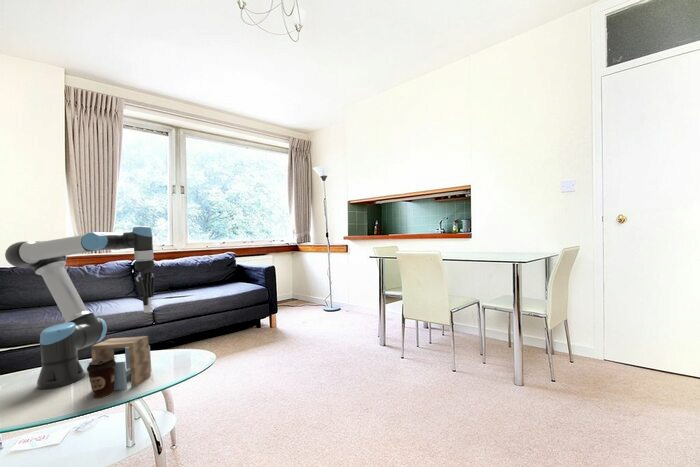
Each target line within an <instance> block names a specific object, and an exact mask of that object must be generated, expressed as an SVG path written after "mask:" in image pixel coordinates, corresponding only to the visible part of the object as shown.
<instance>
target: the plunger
mask: <svg viewBox="0 0 700 467" xmlns="http://www.w3.org/2000/svg"><path fill="white" fill-rule="evenodd" d="M124 356H125V361H118V362H117V361H115V362H116V365H115V368H114V372H115V377H114V378H115V379H114V391H120V390H121V391H123V390H127V388H128V382H127V377H129V376H131V369H130V354H129V347H126V348H124ZM149 357H150V372H153V371H152V359H151V345H149Z"/></svg>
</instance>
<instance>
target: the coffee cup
mask: <svg viewBox="0 0 700 467" xmlns="http://www.w3.org/2000/svg"><path fill="white" fill-rule="evenodd" d="M116 362H117V361H116V360H115V361H114V360H113V358H112V357H108V358H102V359H97V360H94V361H92V360H91V361H90V362H89V363H88V365H87V367H86V371H87V372H88V379H89V383H90V386H91V391H92V392H93V395H92V396H93V399H102V398H107V397H110V396H112V395H113V394H114V393H115V391H116V390H114V379H115V378H114V377H115V372H114V368H115V365H116Z"/></svg>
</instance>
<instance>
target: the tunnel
mask: <svg viewBox="0 0 700 467" xmlns="http://www.w3.org/2000/svg"><path fill="white" fill-rule="evenodd" d="M149 342H150V341H149V335H140V336H128V337H126V336H125V337H114V338H108V339H106V340H103V341H99V342H97V343H95V344H94V345H90V347H91V361H94V360H97V359H102V358H108V357H112V358H113V360H114V361H115V362H116V359H115V349H121V348H122V349H125V348H126V347H129V354H130V369H131V374H130V381H131V387H137V386H138V385H140V384H142V383H143V382H145V380H147V379H149V378H150V377H151V376H152V374H151V372H152V371H151V372H150V357H149Z"/></svg>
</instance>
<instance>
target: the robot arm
mask: <svg viewBox="0 0 700 467" xmlns="http://www.w3.org/2000/svg"><path fill="white" fill-rule="evenodd" d="M152 231H153V230H152V228H151V227H150V226H147V225H146V226H134V227H133V228H132V231H130V232H129V231H127V232H126V231H125V232H102V231H101V232H100V231H92V232H87V233H85V234H81V235H75V236H74V235H73V236H68V237H62V238H55V239H50V240H43V241H40V240H39V241H32V240H29V241H28V240H27V241H18V242H14V243H12V244H11V245H9V246H8V247H7V249H6V250H5V253H4V256H5V260H6V262H8V264H10V265H11V266H14V267H16V268H22V269H24V268H25V269H26V268H32V269H33V272H34V273H35V274H36V275H39V276H41V277H42V278H43V281H44V283H45V285H46V287H47V288H48V290H49V292H50V294H51V296H52V298H53V299H54V301H55V303H56V305H57V307H58V309H59V311H60V313H61V314H62V316H63V319H64V320H65V321H64V322H63V323H59V324H55V325H51V326H49V327H46V328H45V329H43V330H41V332H40V334H39V335H40V336H39V338H40V339H39V344H40V345H39V346H40V358H41V369H40V372H39V375H38V378H37V381H36V386H37V387H36V388H37V389H39V390H48V389H55V388H60V387H63V386H67V385H69V384H73V383H75V382H78V381H79V380H81V379H83V378H84V377H85V371H84V370H85V369H83V367H82V365H81V362H80V361H79V357H78V351H80V350H83V349H85V348H86V347H91V346H93V345H96V344H98V343H100V342H102V340H103V339H104V338H105V336H106V334H107V332H108V326H107V322H106V321H105V320H104V319H103V318H100V317H96V315H95V313H94V312H93V311H88V310H87V307H86V305H85V303H84V302H83V300H82V298H81V295H79V292H78V290H77V288H76V287H75V285H74V284H73V281H72V279H71V277H70V275H69V274H68V271H67V270H66V268H65V266H66V265H67V258H68V257H67V256H71V255H73V256H74V255H77V254H84V253H91V252H97V251H107V250H109V251H112V250H114V251H118V250H119V251H120V250H127V249H129V250H130V249H133V251H134V254H133V255H134V260H135V262H134V269H135V270H137V276H135V277H134V278H133V280H134V281H135V284H136V288H137V293H138V297H139V299H142V306H143V313H146V314H147V313H151V312H152V309H153V308H152V298H153V297H154V295H155V283H156V277H157V276H156V275H157V274H156V273H153V269H154V268H155V261H154V259H155V258H154V257H155V255H154V245H153V242H154V241H153V232H152Z"/></svg>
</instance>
